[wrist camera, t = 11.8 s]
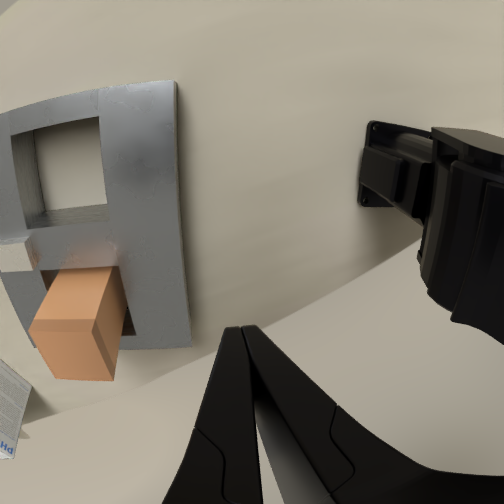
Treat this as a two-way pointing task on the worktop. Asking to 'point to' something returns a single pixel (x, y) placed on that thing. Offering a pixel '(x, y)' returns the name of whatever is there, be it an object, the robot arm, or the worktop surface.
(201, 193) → the worktop surface
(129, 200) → the socket plate
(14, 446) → the light bulb box
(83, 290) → the orange rectangular block
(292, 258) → the worktop surface
